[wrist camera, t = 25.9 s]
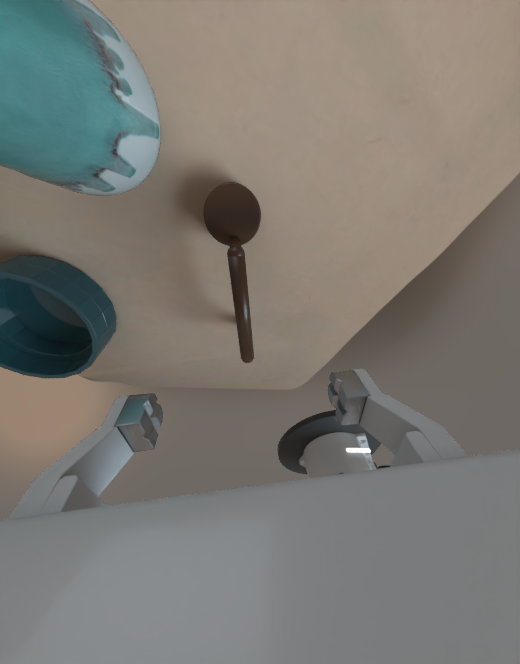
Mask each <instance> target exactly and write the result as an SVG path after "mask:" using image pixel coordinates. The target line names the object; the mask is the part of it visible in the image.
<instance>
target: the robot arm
mask: <svg viewBox="0 0 520 664" xmlns="http://www.w3.org/2000/svg"><path fill="white" fill-rule="evenodd" d="M330 381H331V383H330V384H329V386H328V394H329V399H330V402H331V404H332V405H333V406H334V407H335V408H336V416H337V418H338V420H339V422H340V425H341V426H342V425H352V424H359V425H360V426H361V427H363V428H364V429H365V430H366V431H367V432H368V433H370V434H371V435H372V436H373V437H374V438H375V439H377V440H378V441H379V442H380V443H381V444H383V445H384V446H385V447H386V448H387V449H389V450H390V451H391V452H392V453H393V454H394V455H395V458H394V460H393V462H392V464H391V466H379V467H378V468H377V466H376V464H375V462H372V459H371V454H370V452H371V451H370V449H369V446H368V442H367V438H366V435H365V433H346V432H335V433H329V434H326V435H323V436H320V437H318V438H316V439H314V440H313V441H311V442H310V443H309V444H308V445H307V446H306V447H305V449H304V453H303V455H302V456H301V458H300V459H299V463H300V465H301V466H304V467H306V470H307V473H308V476H309V478H307V479H299V480H293V481H285V482H278V483H270V484H263V485H255V486H248V487H241V488H234V489H227V490H220V491H212V492H204V493H197V494H190V495H183V496H175V497H168V498H161V499H153V500H146V501H139V502H132V503H124V504H117V505H110V506H106V504H105V503H104V502H103V501H102V500H101V499H100V498H99V497H98V496H99V495H100V494H101V492H102V491H103V490H104V489H105V488H106V486H107V485H108V484H109V483H110V482H111V480H112V479H113V478H114V477H115V476H116V474H117V473H118V472H119V471H120V470H121V468H122V467H123V466H124V465H125V464H126V462H127V461H128V460H129V459H130V458H131V456H132V455H133V454H134V452H139V451H145V450H152V449H154V447H155V444H156V440H157V437H158V434H157V432H156V430H157V429H158V428H159V427H160V426H161V423H162V418H163V413H162V408H161V406H160V405H159V404H157V403H156V401H157V397H156V395H155V394H153V393H150V394H139V395H130V396H120V397H118V398H117V399H116V400H115V401H114V403H113V405H112V407H111V409H110V411H109V413H108V415H107V416H106V418H105V420H104V422H103V424H102V425H101V428H100V429H96V430H95V431H93V432H92V433H91V434H90V435H89V436H87V437H86V438H85V439H84V440H82V441H81V442H80V443H79V444H77V445H76V446H75V447H74V448H72V449H71V450H70V451H69V452H67V453H66V454H65V455H64V456H63V457H61V458H60V459H59V460H58V461H56V462H55V463H54V464H53V465H51V466H50V467H49V468H48V469H46V470H45V471H44V472H43V473H42V474H40V475H39V476H38V477H37V478H35V480H34V481H33V482H32V484H31V485H30V487H29V488H28V490H27V491H26V493H25V494H24V496H23V497H22V499H21V500H20V502H19V503H18V505H17V506H16V508H15V509H14V511H13V512H12V514H11V515H10V517H9V518H8V519H7V520H0V664H520V449H519V450H511V451H504V452H498V453H490V454H482V455H475V456H467V454H466V453H465V452H464V451H463V450H462V449H461V447H460V446H459V445H458V444H457V443H456V442H455V440H454V439H453V438H452V437H451V436H450V434H449V433H447V431H446V430H445V429H444V427H443V426H441V425H439V424H437V423H436V422H434V421H432V420H430V419H428V418H427V417H425V416H423V415H421V414H420V413H418V412H416V411H414V410H413V409H411V408H409V407H407V406H406V405H403V404H402V403H400V402H399V401H397V400H395V399H393V398H391V397H390V396H388V395H386V394H384V395H383V394H382V393H381V392H380V390H379V389H378V387H377V386H376V385H375V383H374V382H373V380H372V379H371V378H370V376H369V375H368V373H367V372H366V371H365V370H364V369H356V370H348V371H340V372H332V373H331V374H330Z"/></svg>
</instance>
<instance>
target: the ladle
mask: <svg viewBox="0 0 520 664" xmlns="http://www.w3.org/2000/svg"><path fill="white" fill-rule="evenodd" d="M204 220H205V224H206V227H207V229H208V231H209V232H210V234H211V235H212V236H213V237H214V238H215V239H216V240H217V241H219V242H221V243H222V244H225V245H228V246H230V248H229V249H228V252H227V255H228V263H229V270H230V278H231V285H232V293H233V300H234V308H235V316H236V323H237V331H238V338H239V346H240V353H241V359H242V361H243V362H245V363H250V362H251V361H252V360H253V359H254V352H253V341H252V330H251V319H250V308H249V297H248V286H247V275H246V264H245V253H244V250H243V248H242V246H241V245H243V244H245V243H247V242H248V241H250V240H251V239H252V238H253V237H254V236H255V234H256V233H257V231H258V229H259V226H260V221H261V211H260V206H259V203H258V201H257V199H256V197H255V196H254V195H253V193H252V192H251V191H250V190H249V189H247V188H246V187H244V186H243V185H241V184H238V183H233V182H229V183H224V184H221V185H219V186H218V187H216V188H215V189H214V190H213V191H212V192H211V193H210V194H209V196H208V197H207V199H206V202H205V206H204Z"/></svg>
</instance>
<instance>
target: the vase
mask: <svg viewBox="0 0 520 664" xmlns="http://www.w3.org/2000/svg"><path fill="white" fill-rule="evenodd" d="M160 144H161V123H160V116H159V110H158V106H157V102H156V98H155V95H154V92H153V89H152V86H151V84H150V81H149V79H148V77H147V75H146V73H145V70H144V68H143V66H142V64H141V63H140V61H139V59H138V57H137V55H136V54H135V52H134V51H133V49H132V48H131V46H130V45H129V43H128V42H127V41H126V39H125V38H124V37H123V35H122V34H121V33H120V31H119V30H118V29H117V28H116V27H115V25H114V24H113V23H112V22H111V21H110V20H109V19H108V18H107V17H106V16H105V15H104V14H103V13H102V12H101V11H100V10H99V9H98V8H97V7H96V6H95V5H94V4H93V3H92V2H91V1H90V0H0V166H3V167H6V168H9V169H12V170H15V171H18V172H20V173H22V174H24V175H26V176H29V177H32V178H35V179H38V180H41V181H44V182H47V183H50V184H53V185H56V186H59V187H62V188H65V189H68V190H71V191H74V192H77V193H82V194H87V195H96V196H111V195H118V194H122V193H125V192H128V191H130V190H132V189H134V188H135V187H137V186H138V185H140V184H141V183H142V182H143V181H144V180H145V179H146V178H147V177H148V176H149V174H150V173H151V171H152V170H153V168H154V166H155V164H156V161H157V158H158V155H159V151H160Z"/></svg>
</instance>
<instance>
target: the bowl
mask: <svg viewBox="0 0 520 664" xmlns="http://www.w3.org/2000/svg"><path fill="white" fill-rule="evenodd" d="M115 330H116V314H115V311H114V308H113V305H112V303H111V301H110V299H109V298H108V297H107V295H106V294H105V292H104V291H103V290H102V288H101V287H100V286H99V285H98V284H96V283H95V282H94V281H93V280H92V279H90V278H89V277H88V276H87V275H86V274H84V273H83V272H81V271H79V270H77V269H75V268H74V267H72V266H70V265H68V264H66V263H64V262H61V261H58V260H54V259H50V258H47V257H43V256H17V257H14V258H11V259H8V260H5V261H2V262H0V367H3V368H5V369H8V370H11V371H14V372H17V373H20V374H23V375H28V376H34V377H40V378H65V377H69V376H72V375H76V374H79V373H81V372H82V371H84V370H85V369H87V368H88V367H89V366H91V365H92V364H93V362H94V361H95V360H96V358H97V357H98V356H99V354H100V353H101V352H102V350H103V349H104V348H105V346H106V345H107V344H108V342H109V341H110V339H111V338H112V336H113V334H114V332H115Z"/></svg>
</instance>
